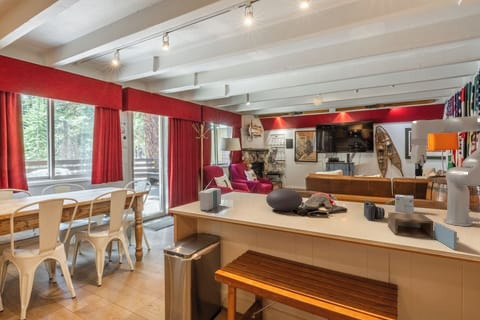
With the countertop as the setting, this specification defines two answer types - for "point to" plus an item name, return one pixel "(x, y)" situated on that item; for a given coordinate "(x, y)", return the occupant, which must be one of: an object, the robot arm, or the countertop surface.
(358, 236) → the countertop surface
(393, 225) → the walnut case
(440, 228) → the case door
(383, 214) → the camera
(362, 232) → the countertop surface
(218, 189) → the stereo radio cassette player
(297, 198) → the smooth stone
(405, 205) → the light bulb box
